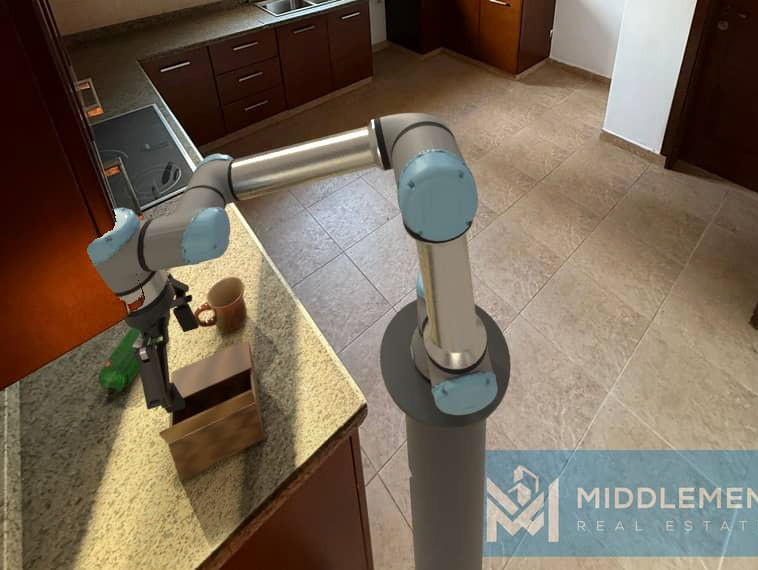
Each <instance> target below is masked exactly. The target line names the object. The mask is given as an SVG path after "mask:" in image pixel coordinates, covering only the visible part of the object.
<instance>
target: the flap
mask: <svg viewBox="0 0 758 570" xmlns="http://www.w3.org/2000/svg"><path fill="white" fill-rule="evenodd" d="M254 402H256V401H255V397H254V394H253V392H252V389H251V390H249V391H247V392H245V393H243V394H240V395H238V396H236V397H234V398H232V399H230V400H227V401H225V402H223V403H221V404H219V405H217V406H215V407H212V408H210V409H208V410H206V411H204V412H202V413H199V414H197V415H195V416H193V417H191V418H189V419H187V420H184V421H182V422H180V423H178V424H176V425H174V426H171V427H169V426H168V427H167V428H164V430H161V431H159V432H158V435H159V436H160V437H161V439H163V440H164V442H165V443H166V444H168V443H170V442H173V441H175V440H177V439H179V438H181V437H183V436H185V435H187V434H189V433H191V432H194V431H196V430H198V429H200V428H202V427H204V426H206V425H208V424H210V423H212V422H215V421H217V420H219V419H221V418H223V417H225V416H227V415H229V414H231V413H233V412H236V411H238V410H240V409H242V408H244V407H246V406H248V405H250V404H252V403H254Z"/></svg>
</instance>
